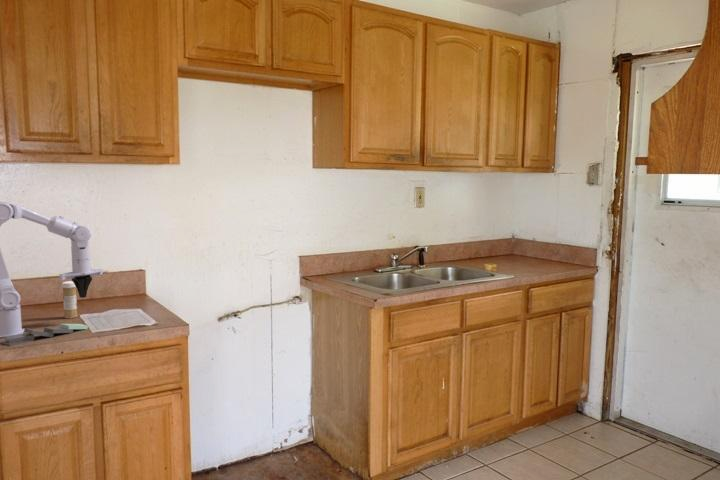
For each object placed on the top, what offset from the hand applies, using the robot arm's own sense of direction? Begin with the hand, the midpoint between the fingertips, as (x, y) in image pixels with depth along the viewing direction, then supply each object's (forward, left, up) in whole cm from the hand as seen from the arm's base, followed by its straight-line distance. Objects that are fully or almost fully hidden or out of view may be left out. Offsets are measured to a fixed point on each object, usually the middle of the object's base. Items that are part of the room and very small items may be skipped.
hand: (82, 297), depth 200 cm
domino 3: (-10, -14, -9) cm, 19 cm away
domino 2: (-15, -17, -10) cm, 24 cm away
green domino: (0, -8, -9) cm, 12 cm away
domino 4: (-4, -11, -9) cm, 15 cm away
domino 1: (-14, -16, -8) cm, 23 cm away
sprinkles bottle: (-5, +11, -10) cm, 15 cm away
